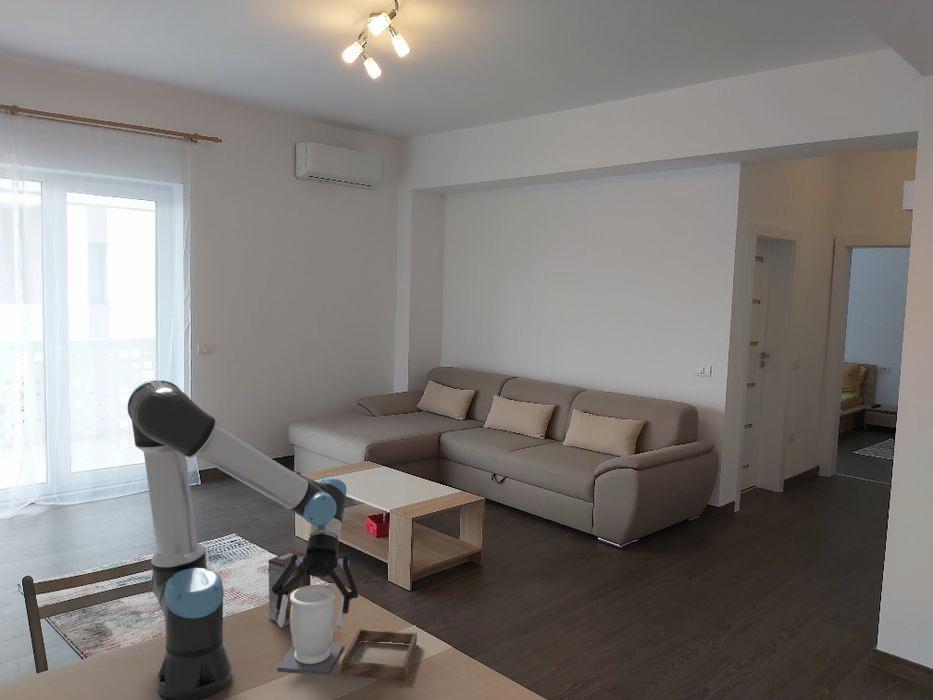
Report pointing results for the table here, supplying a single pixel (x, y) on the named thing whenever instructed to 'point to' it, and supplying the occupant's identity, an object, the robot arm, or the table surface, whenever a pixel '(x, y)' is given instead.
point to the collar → (373, 668)
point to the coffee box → (275, 571)
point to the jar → (312, 622)
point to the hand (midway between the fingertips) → (309, 626)
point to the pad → (320, 668)
